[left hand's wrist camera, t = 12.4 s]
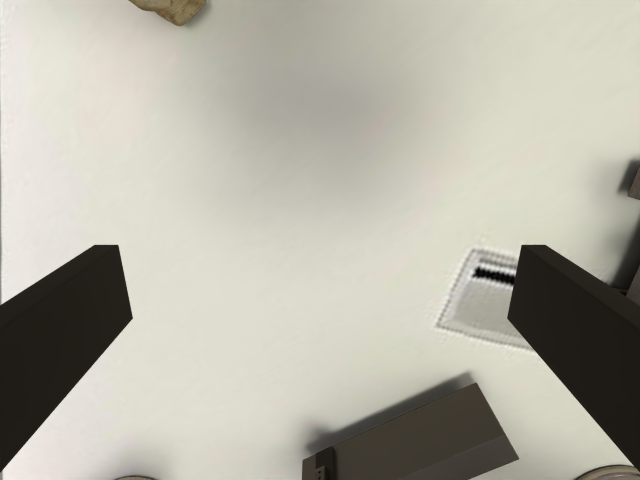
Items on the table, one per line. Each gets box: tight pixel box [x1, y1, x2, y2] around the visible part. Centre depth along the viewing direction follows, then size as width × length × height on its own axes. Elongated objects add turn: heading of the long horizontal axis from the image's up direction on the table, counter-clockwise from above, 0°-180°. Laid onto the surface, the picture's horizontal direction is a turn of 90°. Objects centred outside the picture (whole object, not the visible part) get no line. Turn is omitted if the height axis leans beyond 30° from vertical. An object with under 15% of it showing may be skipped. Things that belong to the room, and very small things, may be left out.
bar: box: [302, 383, 519, 480], centre depth 50 cm, size 27×4×8 cm, turn 121°
